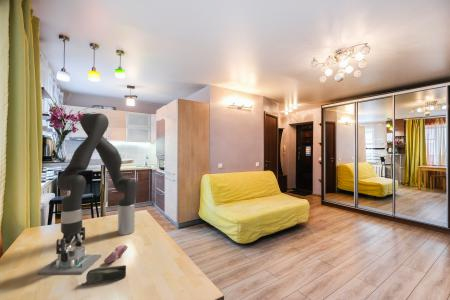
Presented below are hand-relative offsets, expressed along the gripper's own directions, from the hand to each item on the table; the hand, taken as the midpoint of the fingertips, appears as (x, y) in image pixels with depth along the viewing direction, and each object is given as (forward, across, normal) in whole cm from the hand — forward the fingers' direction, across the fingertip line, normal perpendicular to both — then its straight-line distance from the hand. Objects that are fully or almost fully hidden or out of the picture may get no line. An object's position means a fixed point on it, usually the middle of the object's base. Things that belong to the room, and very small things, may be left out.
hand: (71, 256), depth 89 cm
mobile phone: (+4, -11, -20) cm, 23 cm away
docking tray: (+4, 0, 0) cm, 4 cm away
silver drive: (+3, 0, 0) cm, 3 cm away
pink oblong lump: (+4, +5, -17) cm, 18 cm away
